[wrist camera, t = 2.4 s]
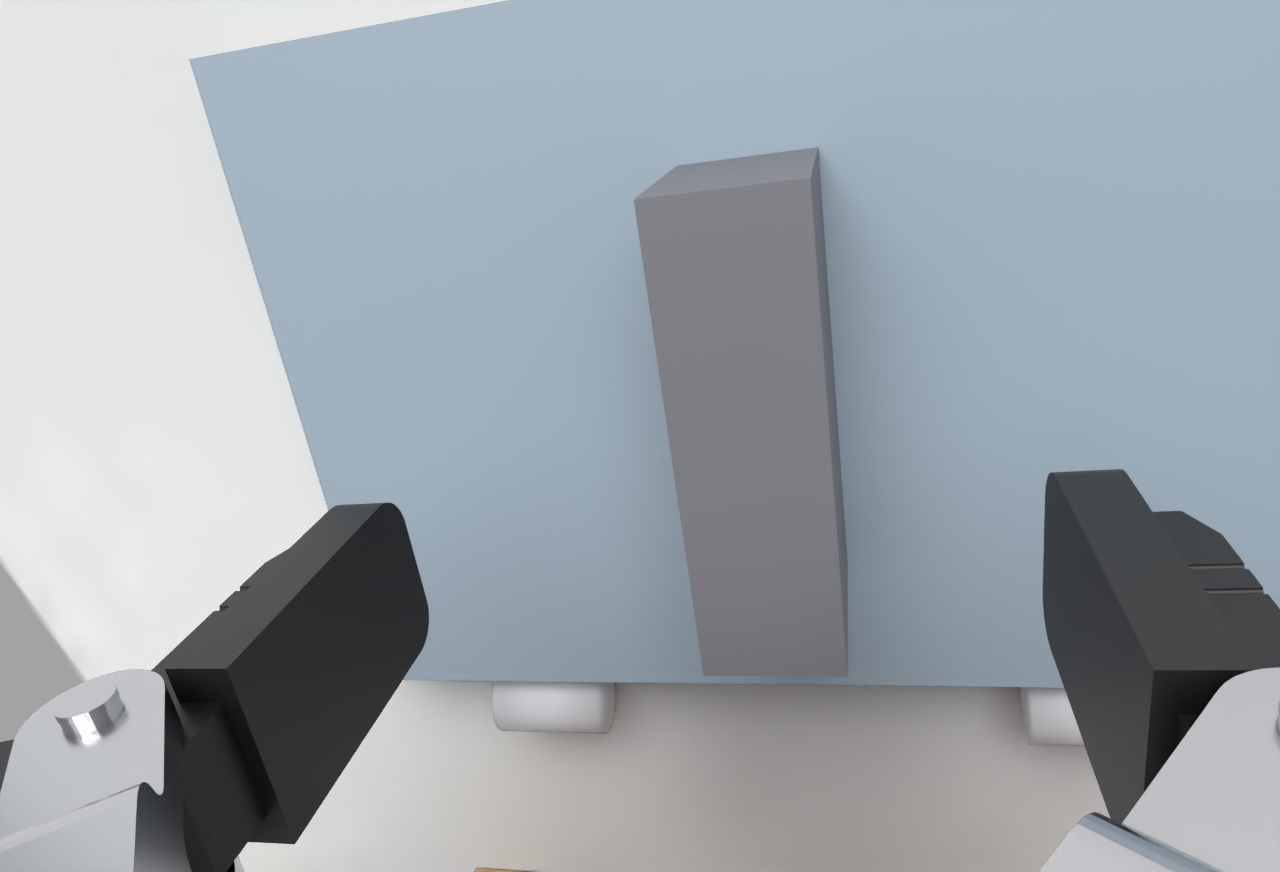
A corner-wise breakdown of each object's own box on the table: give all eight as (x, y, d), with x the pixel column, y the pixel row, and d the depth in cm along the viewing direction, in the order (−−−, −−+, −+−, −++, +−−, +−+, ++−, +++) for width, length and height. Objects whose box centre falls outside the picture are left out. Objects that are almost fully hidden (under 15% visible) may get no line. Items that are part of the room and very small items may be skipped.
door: (1417, -157, 13) (1723, -260, 9) (1288, 715, 19) (1428, 933, 15) (241, 57, 18) (32, 65, 14) (426, 700, 24) (325, 859, 19)
